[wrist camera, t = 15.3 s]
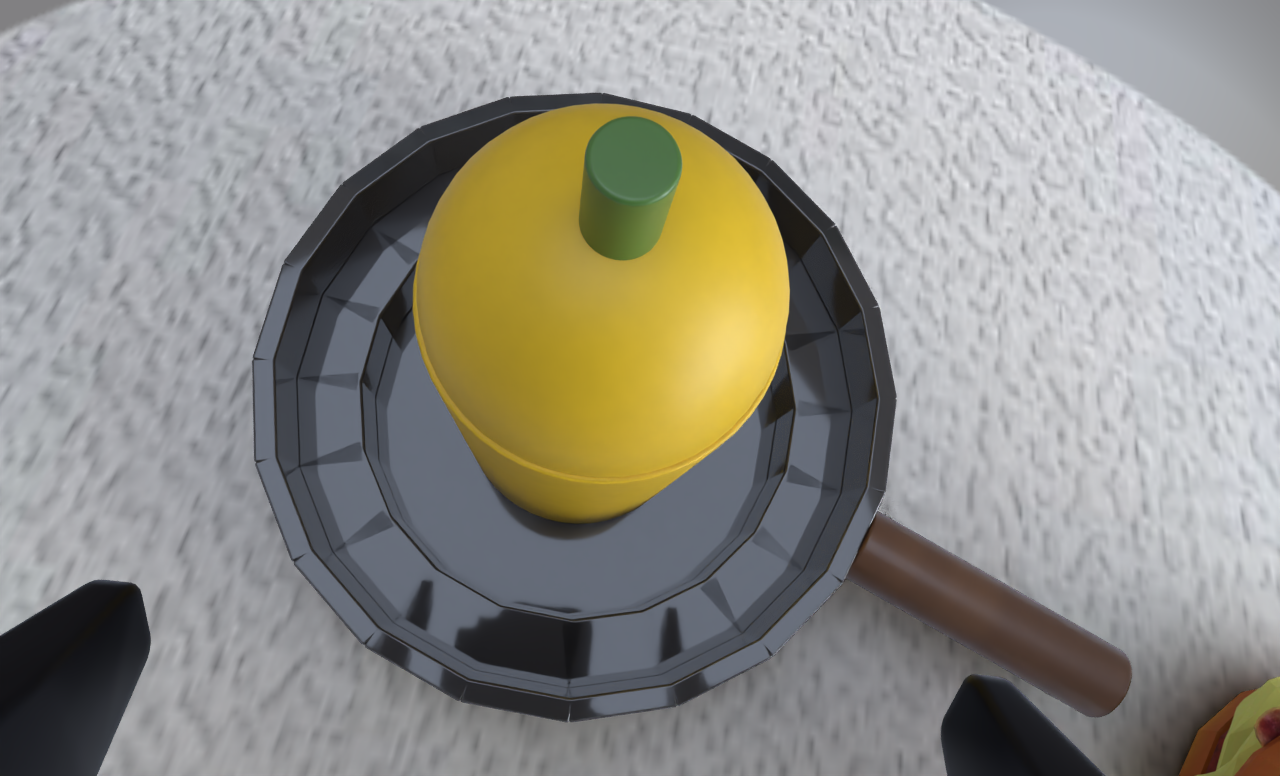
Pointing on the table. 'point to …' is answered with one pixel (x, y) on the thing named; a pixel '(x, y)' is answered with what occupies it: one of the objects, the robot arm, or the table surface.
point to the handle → (991, 618)
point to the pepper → (599, 306)
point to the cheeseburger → (1240, 737)
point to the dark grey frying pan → (526, 543)
